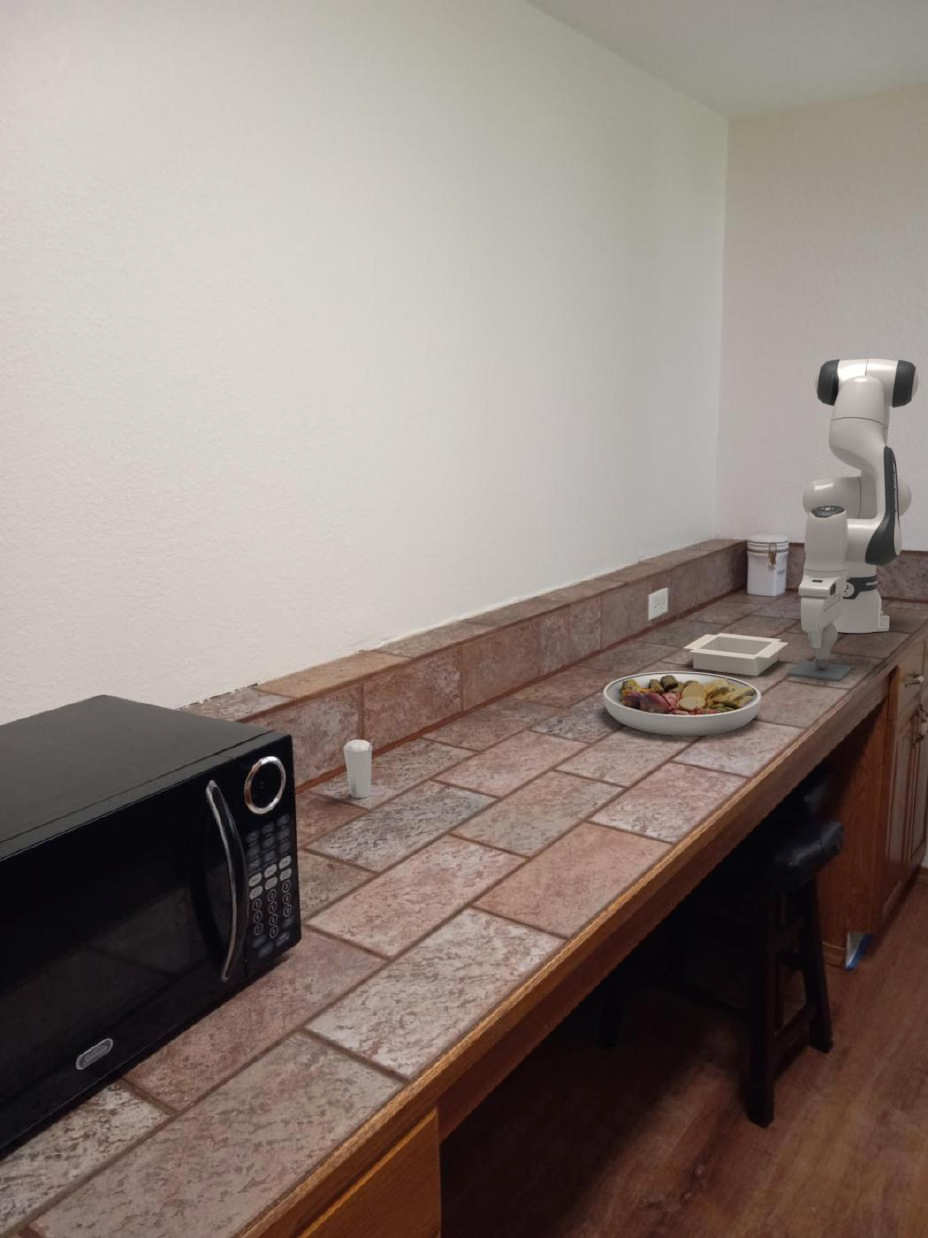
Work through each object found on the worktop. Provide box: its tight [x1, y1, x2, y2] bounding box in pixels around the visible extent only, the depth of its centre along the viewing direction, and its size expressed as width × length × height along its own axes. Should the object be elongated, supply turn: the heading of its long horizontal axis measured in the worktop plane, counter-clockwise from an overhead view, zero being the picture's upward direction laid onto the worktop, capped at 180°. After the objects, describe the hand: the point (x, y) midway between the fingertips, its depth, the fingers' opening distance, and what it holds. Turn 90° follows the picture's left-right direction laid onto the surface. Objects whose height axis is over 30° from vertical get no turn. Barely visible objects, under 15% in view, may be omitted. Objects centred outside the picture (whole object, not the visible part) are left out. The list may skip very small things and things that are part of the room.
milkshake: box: [343, 738, 374, 799], centre depth 159 cm, size 4×5×10 cm
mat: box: [787, 660, 854, 682], centre depth 219 cm, size 11×11×1 cm
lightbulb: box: [807, 623, 839, 670], centre depth 217 cm, size 6×6×11 cm
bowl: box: [602, 670, 762, 737], centre depth 193 cm, size 30×30×8 cm
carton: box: [682, 632, 790, 677], centre depth 227 cm, size 20×20×4 cm
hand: (821, 643), depth 217 cm, fingers closed on lightbulb, 6 cm apart
